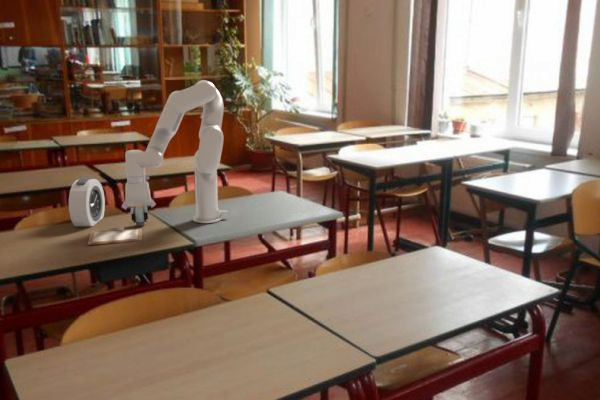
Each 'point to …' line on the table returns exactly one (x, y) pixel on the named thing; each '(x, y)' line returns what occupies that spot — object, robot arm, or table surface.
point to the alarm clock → (86, 202)
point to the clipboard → (115, 236)
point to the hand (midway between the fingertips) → (140, 221)
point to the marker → (139, 216)
